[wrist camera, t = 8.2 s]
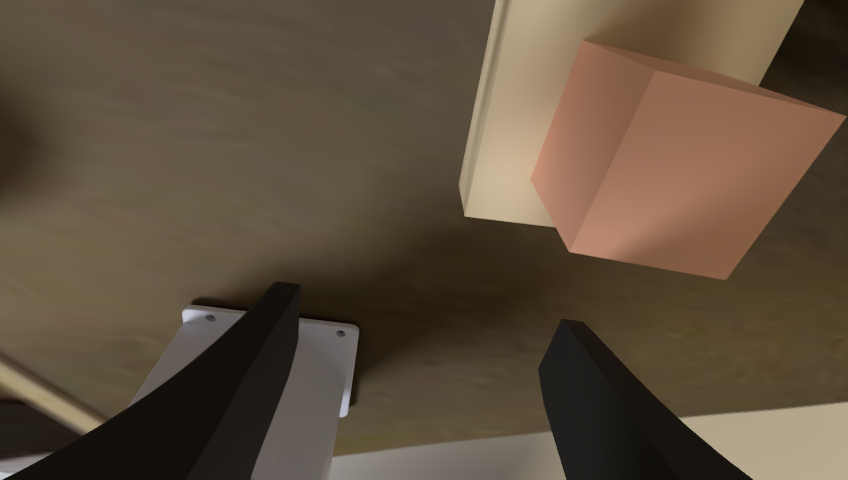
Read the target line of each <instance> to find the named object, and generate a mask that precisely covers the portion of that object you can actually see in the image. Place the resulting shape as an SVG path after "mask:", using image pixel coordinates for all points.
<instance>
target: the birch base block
mask: <svg viewBox="0 0 848 480" xmlns="http://www.w3.org/2000/svg"><path fill="white" fill-rule="evenodd" d="M803 2H804V0H496V3H495V8H494V12H493V17H492V22H491V27H490V32H489V37H488V42H487V47H486V52H485V57H484V62H483V67H482V72H481V77H480V82H479V87H478V92H477V97H476V101H475V106H474V111H473V116H472V121H471V126H470V131H469V136H468V141H467V146H466V151H465V156H464V161H463V166H462V171H461V176H460V181H459V189H460V194H461V199H462V204H463V210H464V215H465V217H473V218H482V219H490V220H498V221H507V222H515V223H524V224H532V225H540V226H549V227H555V225H554V223H553V221H552V219H551V217H550V215H549V214H548V212H547V210H546V208H545V206H544V204H543V203H542V201H541V199H540V197H539V195H538V193H537V191H536V190H535V188H534V186H533V184H532V182H531V180H530V178H531V176H532V173H533V170H534V168H535V165H536V162H537V160H538V157H539V154H540V152H541V149H542V146H543V144H544V141H545V138H546V136H547V133H548V130H549V128H550V125H551V122H552V120H553V117H554V114H555V112H556V109H557V106H558V104H559V101H560V98H561V96H562V93H563V91H564V88H565V85H566V83H567V80H568V77H569V75H570V72H571V69H572V67H573V64H574V61H575V59H576V56H577V53H578V51H579V48H580V45H581V43H582V40H586V41H590V42H594V43H598V44H602V45H606V46H610V47H614V48H618V49H622V50H627V51H631V52H635V53H639V54H643V55H647V56H651V57H655V58H659V59H663V60H667V61H671V62H675V63H679V64H684V65H688V66H692V67H696V68H700V69H704V70H708V71H712V72H716V73H720V74H723V75H726V76H729V77H732V78H735V79H738V80H741V81H744V82H747V83H750V84H753V85H756V86H759V84H760V82H761V80H762V78H763V76H764V75H765V73H766V71H767V69H768V67H769V65H770V63H771V62H772V60H773V58H774V56H775V54H776V52H777V50H778V49H779V47H780V45H781V43H782V41H783V39H784V37H785V35H786V34H787V32H788V30H789V28H790V26H791V24H792V22H793V21H794V19H795V17H796V15H797V13H798V11H799V9H800V8H801V6H802V4H803Z"/></svg>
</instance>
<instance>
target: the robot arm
mask: <svg viewBox="0 0 848 480" xmlns="http://www.w3.org/2000/svg"><path fill="white" fill-rule="evenodd" d="M299 310H300V285H299V284H291V283H284V282H275V283H274V284H272V285H271V286H270V288H269V289H268V290H267V291H266V292H265V293H264V294H263V295H262V296H261V297H260V298H259V300H258V301H257V302H256V303H255V304H254V305H253V306H252V307H251V308H250V309H249V310H248V311H240V310H232V309H223V308H215V307H207V306H199V305H188V306H186V307H185V309H184V310H183V312H182V317H183V324H182V326H181V327H180V329H179V330H178V332H177V333H176V335H175V336H174V338H173V339H172V341H171V342H170V344H169V345H168V347H167V348H166V350H165V351H164V353H163V354H162V356H161V357H160V359H159V360H158V362H157V363H156V365H155V366H154V368H153V370H152V371H151V373H150V374H149V376H148V377H147V379H146V380H145V382H144V383H143V385H142V386H141V388H140V389H139V391H138V392H137V394H136V395H135V397H134V398H133V400H132V401H131V403H130V404H129V406H128V407H127V409H125V410H124V411H122V412H121V413H119V414H118V415H116V416H114V417H113V418H111V419H110V420H108V421H107V422H105V423H103V424H102V425H100V426H99V427H97V428H95V429H93V430H92V431H90V432H88V433H87V434H85V435H83V436H81V437H80V438H78V439H76V440H75V441H73V442H71V443H69V444H68V445H66V446H64V447H62V448H61V449H59V450H57V451H56V452H54V453H52V454H50V455H49V456H47V457H45V458H43V459H41V460H40V461H38V462H36V463H34V464H32V465H30V466H29V467H27V468H25V469H23V470H21V471H19V472H17V473H15V474H13V475H11V476H9V477H7V478H5V479H3V480H328V479H329V472H330V467H331V461H332V456H333V450H334V444H335V438H336V433H337V427H338V421H339V417H344V416H346V415H347V414H348V409H349V402H350V395H351V388H352V381H353V373H354V366H355V359H356V352H357V345H358V337H359V329H358V327H357V326H355V325H352V324H346V323H337V322H329V321H321V320H313V319H305V318H299ZM210 315H213V316H214V317H212V316H210ZM339 331H344V332H339ZM539 376H540V383H541V390H542V395H543V401H544V406H545V409H546V413H547V416H548V420H549V423H550V426H551V430H552V433H553V437H554V440H555V443H556V446H557V450H558V453H559V456H560V460H561V463H562V466H563V470H564V473H565V476H566V480H753V479H752V478H750V477H749V476H748V475H746V474H745V473H744V472H742V471H741V470H740V469H739V468H737V467H736V466H735V465H733V464H732V463H730V462H729V461H728V460H727V459H726V458H724V457H723V456H722V455H720V454H719V453H718V452H717V451H716V450H714V449H713V448H712V447H711V446H710V445H709V444H707V443H706V442H705V441H704V440H703V439H701V438H700V437H699V436H698V435H697V434H696V433H694V432H693V431H692V430H691V429H690V428H688V427H687V426H686V425H685V424H684V423H683V422H682V421H681V420H680V419H678V418H677V417H676V416H675V415H674V414H673V413H672V412H671V411H670V410H669V409H668V408H667V407H666V406H665V405H664V404H663V403H662V402H660V401H659V400H658V399H657V398H656V397H655V396H654V395H653V394H652V393H651V392H650V391H649V390H648V389H647V388H646V387H645V386H644V385H643V384H642V383H641V382H640V381H639V380H638V379H637V378H636V377H635V376H634V375H633V374H632V373H631V371H630V370H629V369H628V368H627V367H626V366H625V365H624V364H623V363H622V362H621V361H620V360H619V359H618V358H617V357H616V356H615V355H614V354H613V352H612V351H611V350H610V349H609V348H608V347H607V346H606V345H605V344H604V343H603V342H602V341H601V340H600V339H599V338H598V337H597V336H596V334H595V333H594V332H593V331H592V330H591V329H590V328H589V327H588V326H587V325H586V324H584V323H583V322H581V321H574V320H566V319H562V320H561V322H560V324H559V326H558V328H557V330H556V333H555V335H554V337H553V339H552V341H551V343H550V345H549V347H548V349H547V352H546V354H545V356H544V358H543V360H542V362H541V364H540V366H539Z"/></svg>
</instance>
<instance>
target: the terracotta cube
mask: <svg viewBox="0 0 848 480" xmlns="http://www.w3.org/2000/svg"><path fill="white" fill-rule="evenodd" d="M846 117H847V116H844V115H841V114H838V113H835V112H832V111H829V110H827V109H824V108H821V107H818V106H815V105H812V104H809V103H806V102H803V101H800V100H797V99H794V98H791V97H788V96H785V95H782V94H779V93H776V92H773V91H771V90H768V89H765V88H762V87H759V86H756V85H753V84H750V83H747V82H744V81H741V80H738V79H735V78H732V77H729V76H726V75H723V74H720V73H716V72H712V71H708V70H704V69H700V68H696V67H692V66H688V65H684V64H679V63H675V62H671V61H667V60H663V59H659V58H655V57H651V56H647V55H643V54H639V53H635V52H631V51H627V50H622V49H618V48H614V47H610V46H606V45H602V44H598V43H594V42H590V41H586V40H582V43H581V45H580V48H579V51H578V53H577V56H576V59H575V61H574V64H573V67H572V69H571V72H570V75H569V77H568V80H567V83H566V85H565V88H564V91H563V93H562V96H561V98H560V101H559V104H558V106H557V109H556V112H555V114H554V117H553V120H552V122H551V125H550V128H549V130H548V133H547V136H546V138H545V141H544V144H543V146H542V149H541V152H540V154H539V157H538V160H537V162H536V165H535V168H534V170H533V173H532V176H531V178H530V180H531V182H532V184H533V186H534V188H535V190H536V191H537V193H538V195H539V197H540V199H541V201H542V203H543V204H544V206H545V208H546V210H547V212H548V214H549V215H550V217H551V219H552V221H553V223H554V225H555V227H556V228H557V230H558V232H559V234H560V236H561V238H562V240H563V241H564V243H565V245H566V247H567V249H568V251H569V252H572V253H577V254H583V255H588V256H594V257H600V258H605V259H611V260H616V261H622V262H627V263H633V264H639V265H644V266H650V267H655V268H661V269H667V270H672V271H678V272H683V273H689V274H694V275H700V276H706V277H711V278H717V279H722V280H726V279H727V278H728V276H729V275H730V274H731V272H732V271H733V270H734V268H735V267H736V266H737V264H738V263H739V262H740V260H741V259H742V257H743V256H744V255H745V253H746V252H747V251H748V249H749V248H750V247H751V245H752V244H753V243H754V241H755V240H756V239H757V237H758V236H759V234H760V233H761V232H762V230H763V229H764V228H765V226H766V225H767V224H768V222H769V221H770V220H771V218H772V217H773V216H774V214H775V213H776V212H777V210H778V209H779V207H780V206H781V205H782V203H783V202H784V201H785V199H786V198H787V197H788V195H789V194H790V193H791V191H792V190H793V189H794V187H795V186H796V185H797V183H798V182H799V180H800V179H801V178H802V176H803V175H804V174H805V172H806V171H807V170H808V168H809V167H810V166H811V164H812V163H813V162H814V160H815V159H816V157H817V156H818V155H819V153H820V152H821V151H822V149H823V148H824V147H825V145H826V144H827V143H828V141H829V140H830V139H831V137H832V136H833V135H834V133H835V132H836V130H837V129H838V128H839V126H840V125H841V124H842V122H843V121H844V120H845V118H846Z"/></svg>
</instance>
